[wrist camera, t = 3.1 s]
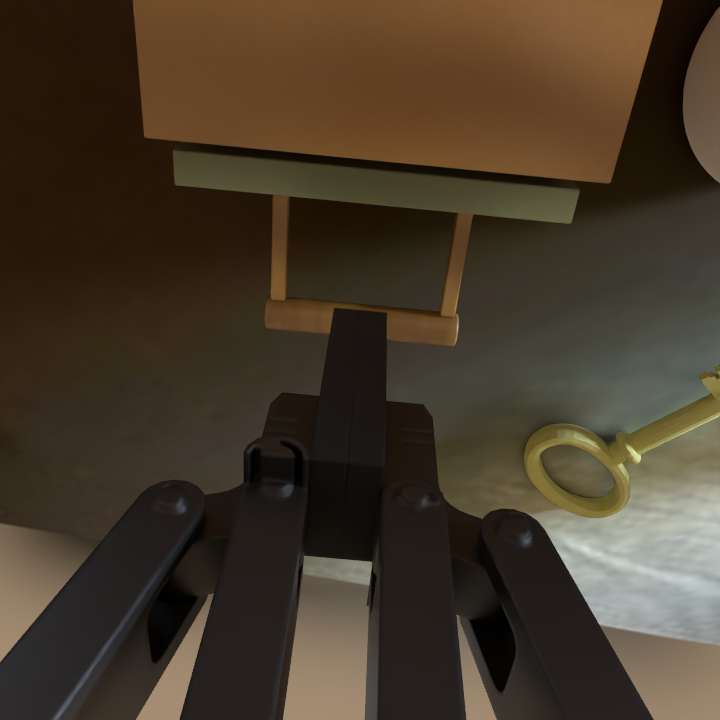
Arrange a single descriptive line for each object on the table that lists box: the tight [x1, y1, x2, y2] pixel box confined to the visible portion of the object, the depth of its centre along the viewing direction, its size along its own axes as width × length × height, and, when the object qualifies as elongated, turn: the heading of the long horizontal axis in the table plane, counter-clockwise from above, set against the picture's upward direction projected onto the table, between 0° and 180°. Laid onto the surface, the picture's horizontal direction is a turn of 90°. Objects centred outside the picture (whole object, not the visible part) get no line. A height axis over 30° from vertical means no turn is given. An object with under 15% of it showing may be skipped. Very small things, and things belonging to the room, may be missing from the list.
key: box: [524, 365, 720, 518], centre depth 36 cm, size 7×12×2 cm, turn 151°
